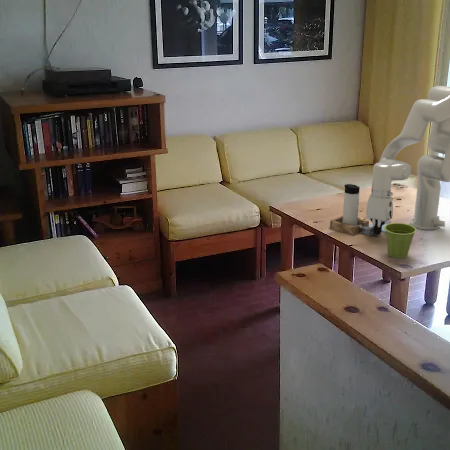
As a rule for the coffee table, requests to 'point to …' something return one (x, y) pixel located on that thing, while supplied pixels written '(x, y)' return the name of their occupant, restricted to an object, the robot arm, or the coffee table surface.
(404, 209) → the coffee table surface
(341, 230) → the wooden tray
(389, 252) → the plant pot
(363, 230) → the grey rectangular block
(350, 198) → the travel mug
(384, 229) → the pad
